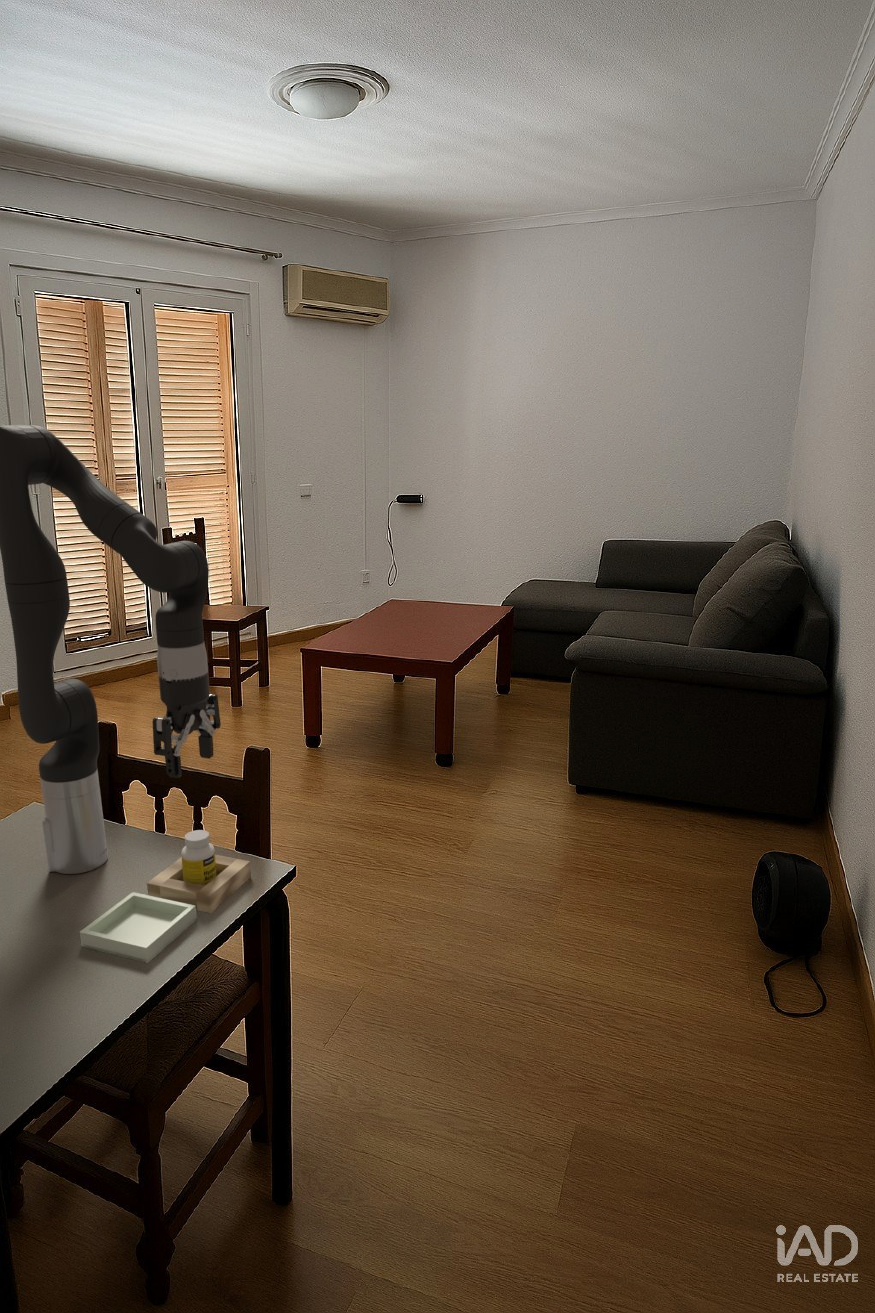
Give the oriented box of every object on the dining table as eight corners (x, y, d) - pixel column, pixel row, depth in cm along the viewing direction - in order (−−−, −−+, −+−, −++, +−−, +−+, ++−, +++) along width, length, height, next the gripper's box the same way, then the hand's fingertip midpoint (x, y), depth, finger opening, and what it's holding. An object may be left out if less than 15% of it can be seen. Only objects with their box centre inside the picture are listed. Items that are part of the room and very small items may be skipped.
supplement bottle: (208, 898, 144) (204, 844, 142) (178, 894, 145) (173, 841, 143) (222, 881, 150) (218, 829, 147) (193, 878, 151) (188, 826, 148)
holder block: (210, 913, 140) (209, 896, 139) (148, 899, 144) (146, 883, 143) (251, 877, 151) (250, 861, 150) (192, 865, 155) (190, 850, 154)
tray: (147, 963, 127) (146, 948, 127) (81, 946, 131) (79, 932, 131) (196, 919, 138) (195, 905, 138) (134, 905, 142) (132, 892, 142)
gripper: (190, 656, 145) (197, 748, 149) (133, 680, 132) (143, 780, 136) (229, 661, 142) (235, 754, 147) (175, 686, 129) (183, 787, 134)
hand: (191, 766), depth 141 cm, fingers open, 8 cm apart
